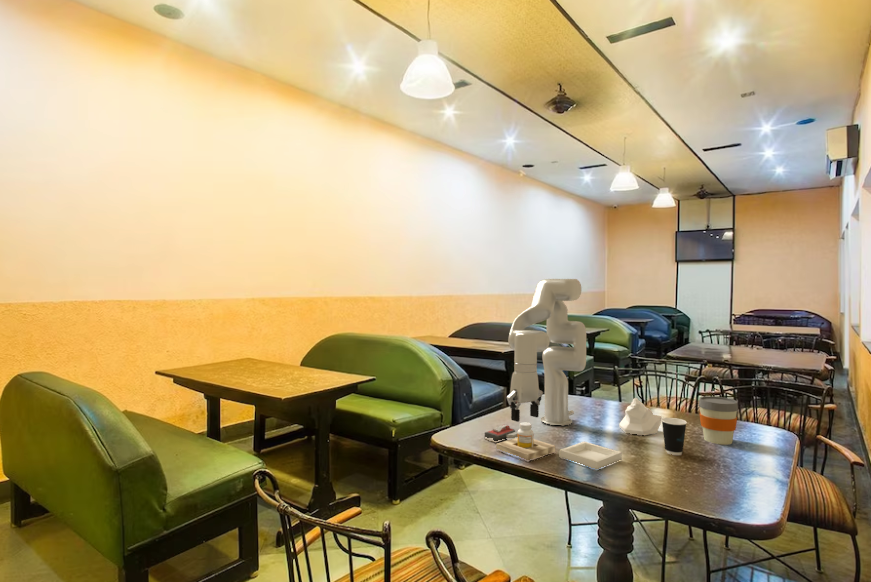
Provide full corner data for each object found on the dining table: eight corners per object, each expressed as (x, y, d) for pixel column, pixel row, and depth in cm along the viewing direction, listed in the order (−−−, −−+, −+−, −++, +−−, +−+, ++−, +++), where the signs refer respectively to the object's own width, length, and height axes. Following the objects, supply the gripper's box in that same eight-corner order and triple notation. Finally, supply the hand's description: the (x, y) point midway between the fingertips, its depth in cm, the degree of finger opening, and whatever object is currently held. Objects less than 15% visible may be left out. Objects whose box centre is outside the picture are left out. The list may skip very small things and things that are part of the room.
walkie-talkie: (499, 446, 170) (532, 434, 184) (499, 434, 170) (532, 423, 184) (481, 440, 177) (513, 429, 191) (481, 428, 177) (513, 418, 191)
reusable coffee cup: (698, 442, 173) (699, 401, 173) (698, 433, 184) (698, 394, 184) (739, 448, 167) (739, 405, 167) (736, 438, 178) (736, 398, 178)
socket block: (523, 442, 173) (523, 435, 173) (555, 453, 162) (555, 445, 162) (496, 450, 164) (496, 443, 164) (527, 462, 154) (527, 454, 154)
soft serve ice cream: (658, 442, 178) (654, 407, 176) (617, 439, 187) (611, 405, 184) (662, 426, 189) (658, 392, 186) (622, 423, 197) (618, 391, 194)
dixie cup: (686, 458, 157) (686, 425, 157) (660, 454, 161) (660, 421, 161) (687, 451, 164) (687, 419, 164) (661, 447, 168) (662, 416, 168)
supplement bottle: (522, 448, 167) (522, 420, 167) (536, 451, 164) (536, 423, 164) (514, 452, 163) (514, 424, 163) (528, 456, 160) (528, 426, 160)
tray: (584, 449, 166) (584, 441, 166) (621, 460, 155) (621, 452, 155) (559, 458, 157) (559, 449, 157) (597, 471, 146) (597, 461, 146)
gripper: (533, 365, 171) (532, 413, 171) (499, 369, 161) (499, 420, 160) (550, 367, 166) (549, 417, 165) (516, 371, 155) (516, 425, 154)
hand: (525, 418), depth 163 cm, fingers open, 9 cm apart
